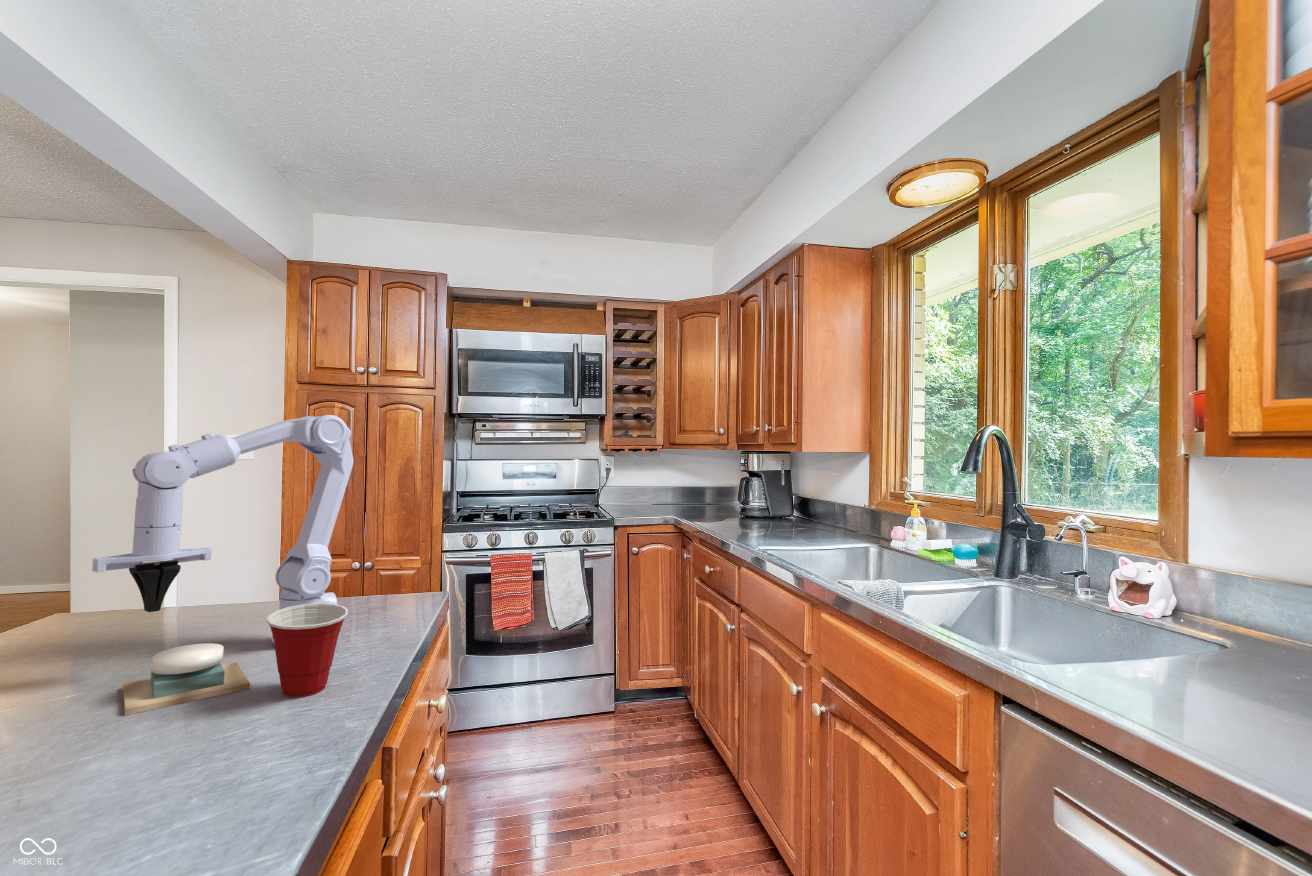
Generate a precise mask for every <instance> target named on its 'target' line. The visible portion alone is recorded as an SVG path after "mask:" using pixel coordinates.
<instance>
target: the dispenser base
mask: <svg viewBox="0 0 1312 876" xmlns="http://www.w3.org/2000/svg"><path fill="white" fill-rule="evenodd" d="M250 689H251V682H250V681H249V679H248V678H247V676H246V675H245V673H244V672H243V669H242V668H241V667H240V665H239V664H238V662H231V663H225V664H221V662H220V663H218V664H216V665H214V666H212V667H209V668H206V669H202V670H198V671H193V672H188V673H181V674H156V673H153V672H152V668H151V669H150V678H149V677H148V678H143V679H139V680H133V681H129V682H127V681H126V682H123V683H122V697H123V708H124V716H128V715H134V714H137V713H141V712H147V711H153V710H156V709H157V710H158V709H161V708H166V707H169V706H174V705H179V704H180V705H181V704H184V703H189V702H193V701H194V702H195V701H199V700H205V699H209V698H212V697H216V696H217V697H218V696H222V695H227V694H230V693H236V692H240V691H245V690H250Z"/></svg>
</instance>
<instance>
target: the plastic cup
mask: <svg viewBox="0 0 1312 876" xmlns="http://www.w3.org/2000/svg"><path fill="white" fill-rule="evenodd" d="M348 614H349V609H348V608H347V607H345V606H343V605H340V604H337V605H336V604H325V603H315V604H302V605H296V606H290V607H287V608H283V609H280V610H279V609H277V610H275V611H273V612H272V613H270V614H268V616H267V618H266V622H267V624H268V625H269V627H270V631H271V633H272V638H273V639H274V643H273V645H274V651H275V658H276V665H277V673H278V675H279V682H280V690H281V694H282V695H283V696H284V697H287V698H288V697H289V698H301V697H307V696H311V695H316V694H318V693H320V692H322V691H324V690H325V689H326V685H327V684H328V679H329V674H330V670H331V667H332V665H333V660H334V657H335V656H334V655H335V651H336V647H337V643H338V639H339V635H340V633H341V628H342V626H343V623H344V621H345V619H346V618H347V617H348Z"/></svg>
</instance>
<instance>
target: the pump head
mask: <svg viewBox="0 0 1312 876" xmlns="http://www.w3.org/2000/svg"><path fill="white" fill-rule="evenodd" d="M224 650H225V649H224V646H223V645H222V644H219V643H210V642H209V643H195V644H187V645H181V646H175V647H171V648H168V649H165V650H162V651H158V652H157V653H156V654H153V656H152V658H151V659H152V660H151V669H152V672H153V673H156V674H181V673H188V672H193V671H198V670H202V669H206V668H209V667H212V666H214V665H216V664H218V663H220V664H221V662H223V660H224Z"/></svg>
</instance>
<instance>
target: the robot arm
mask: <svg viewBox="0 0 1312 876" xmlns="http://www.w3.org/2000/svg"><path fill="white" fill-rule="evenodd" d="M351 436H352V431H351V429H350V428H349V427H348V426H347V424H346V423H345V421H344V420H343V419H342V418H341V417H339V416H337V415H333V414H326V415H321V416H320V415H318V416H312V415H307V416H303V417H301V418H300V417H298V418H292V419H286V420H282V421H278V422H275V423H273V424H269V425H267V426H266V425H265V426H264V427H261V428H258V429H255V430H253V431H249V432H246V433H244V434H240V435H237V436H234V437H231V438H230V437H227V436H225V435H223V434H216V435H214V434H213V433H206V434H203V435H201V436H200V437H201V439H199V440H196V441H192V442H189V443H185V444H183V445H182V444H181V445H179V446H178V444H171V445H168V447H167V448H168V451H167V450H166V451H163V452H161V451H160V452H151V453H148V454H145V455H144V456H142V457H141V458H140V459H139V460H137V462H136V464H135V466H134V468H132V469H131V470H132V471H131V472H132V476H133V478H134V479H135V481H136V482H138V483H137V484H138V485H137V497H136V498H135V511H134V523H133V525H134V526H133V539H132V540H133V541H132V553H125V554H118V555H111V556H104V557H95V558H93V559H92V570H91V571H92V572H94V573H105V572H107V571H114V570H115V571H116V570H125V569H128V570H129V574H130V575H131V576H132V578H133V580H134V582H135V583H136V586H137V588H138V590H139V593H140V595H141V598H142V602H143V610H144V612H147V613H154V612H159V611H161V608H162V604H163V602H164V599H165V597H166V594H167V593H168V590H169V588H170V587H171V584H172V583H173V582H174V580H175V579H176V577H177V576H178V575H179V573H180V571H181V567H182V566H181V565H180V563H187V562H198V561H211V560H212V555H213V554H212V551H213V549H212V548H209V547H200V548H199V547H197V548H196V547H195V548H182V549H180V547H181V546H180V545H181V532H182V531H181V530H182V529H181V528H182V516H183V515H182V514H183V500H184V498H183V492H184V491H183V490H184V489H183V488H184V485H185V484H186V482H187V481H189V479H195V478H197V477H201V476H203V475H206V474H210V473H213V472H216V471H217V470H218V471H219V470H220V469H225V468H227V467H231V466H233V465H235V463H236V462H237V460H238V459H239V457H240V455H243V454H247V453H249V452H253V451H256V450H260V449H264V448H266V447H270V446H274V445H277V444H280V443H284V442H287V443H288V442H289V443H298V444H299V445H300V446H301V447H303V448H305V450H307V451H308V452H310V453H312V455H313V456H314V457H315V458H316V460H317V461H318V462H319V464H320V466H321V467H320V470H319V472H318V473H319V474H318V477H317V479H316V484H315V486H314V489H313V493H312V496H311V498H310V501H309V504H308V508H307V511H306V514H305V517H304V519H303V523H302V526H301V530H300V533H299V534H298V535H299V536H298V539H297V542H296V543H295V545H293V547H292V546H291V547H292V548H290V549H289V551H288V552H287V555H286V557H285V559H284V560H283V562H282V563H281V564H280V565H279V567H278V568H277V570H276V572H275V575H274V576H275V577H274V578H275V582H276V584H277V585H278V586H279V588H281V592H280V594H279V606H278V607H279V609H278V610H280V609H283V608H287V607H290V606H296V605H302V604H315V603H325V604H336V605H338V600H337V596H336V594H335V592H333V591H332V592H331V591H330V592H326V590H327V588H328V587H329V585H330V583H331V579H332V574H331V564H332V556H331V553H330V550H329V544H330V542H331V538H332V535H333V530H334V528H335V525H336V522H337V519H338V515H339V512H340V508H341V506H342V502H343V498H344V496H345V493H346V489H347V486H348V483H349V479H350V476H351V472H352V470H353V466H354V456H353V451H352V445H351V440H350V439H351ZM178 563H179V564H178ZM270 641H271V642H272V643H273V644H274V639H273V637H272V638H271V639H270Z"/></svg>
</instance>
